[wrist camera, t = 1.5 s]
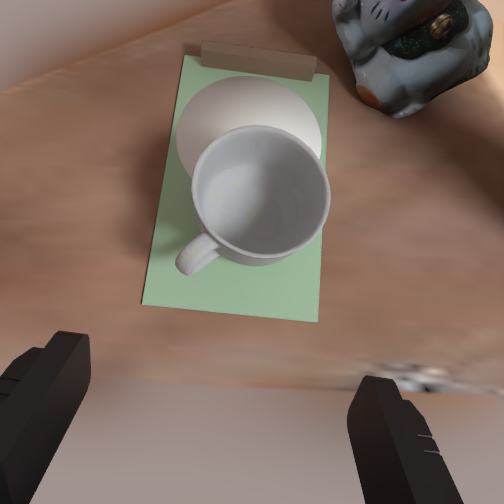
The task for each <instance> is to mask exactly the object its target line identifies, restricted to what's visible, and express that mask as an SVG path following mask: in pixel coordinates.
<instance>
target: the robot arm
mask: <svg viewBox="0 0 504 504" xmlns="http://www.w3.org/2000/svg"><path fill="white" fill-rule="evenodd" d="M90 378H91V362H90V343H89V336H88V335H87V334H81V333H74V332H67V331H58V332H56V333H55V334H54V336H53V337H52V338H51V340H50V341H49V342H48V344H47V345H46V346H45V348H37V347H32V348H31V349H29V350H28V351H26V352H25V353H23V354H22V355H21V356H19V357H18V358H16V359H15V360H13V361H12V363H11V364H10V365H9V366H8V368H7V369H6V370H5V371H4V373H3V374H2V375H1V376H0V504H29V503H30V501H31V499H32V497H33V495H34V493H35V492H36V490H37V488H38V486H39V484H40V482H41V480H42V478H43V476H44V474H45V472H46V470H47V468H48V466H49V464H50V462H51V460H52V459H53V457H54V455H55V453H56V451H57V449H58V447H59V445H60V443H61V441H62V439H63V437H64V435H65V433H66V431H67V429H68V428H69V426H70V424H71V422H72V420H73V418H74V416H75V414H76V412H77V410H78V408H79V406H80V404H81V402H82V400H83V398H84V396H85V394H86V392H87V389H88V386H89V383H90ZM347 428H348V433H349V438H350V442H351V446H352V450H353V454H354V458H355V462H356V466H357V471H358V475H359V478H360V483H361V487H362V491H363V495H364V500H365V504H464V503H463V501H462V499H461V497H460V494H459V492H458V490H457V488H456V486H455V484H454V481H453V480H452V477H451V475H450V473H449V471H448V468H447V466H446V464H445V462H444V460H443V458H442V456H441V455H440V454H439V449H438V447H437V445H436V443H435V441H434V440H433V439H432V434H431V432H430V430H429V427H428V425H427V423H426V421H425V419H424V417H423V416H422V415H421V413H420V412H419V411H418V410H417V409H416V407H415V406H414V405H413V404H412V403H411V402H410V401H409V400H403V399H402V397H401V395H400V392H399V390H398V388H397V385H396V383H395V382H394V381H393V380H392V379H388V378H381V377H374V376H365V377H364V378H363V379H362V381H361V383H360V386H359V388H358V390H357V392H356V394H355V397H354V399H353V401H352V403H351V405H350V407H349V410H348V415H347Z"/></svg>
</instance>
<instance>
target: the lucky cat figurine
mask: <svg viewBox="0 0 504 504" xmlns="http://www.w3.org/2000/svg"><path fill="white" fill-rule="evenodd" d="M332 17H333V20H334V23H335V26H336V31H337V34H338V36H339V38H340V40H341V42H342V44H343V47H344V49H345V51H346V55H347V57H348V59H349V61H350V63H351V66H352V68H353V71H354V74H355V78H356V81H357V83H356V90H357V92H358V94H359V96H360V98H361V100H362V101H363V102H364V103H366V104H367V105H369V106H371V107H373V108H375V109H377V110H379V111H381V112H383V113H385V114H389V115H391V116H392V118H393V119H394V118H401V117H405V116H408V115H411V114H414V113H416V112H417V111H418V110H419V109H422V108H423V107H424V106H425V105H426V104H427V103H428V102H429V101H431V100H432V99H434V98H435V97H436V96H438V95H439V94H441V93H443V92H445V91H447V90H449V89H451V88H453V87H456V86H458V85H460V84H462V83H464V82H466V81H468V80H470V79H472V78H475V77H476V76H477V75H479V74H481V73H482V72H483V71H484V70H485V69H486V68H487V66H488V62H489V61H490V57H489V51H490V47H491V41H492V34H493V22H492V18H491V16H490V14H489V12H488V10H487V9H486V8H485V7H484V6H483V5H482V4H481V3H480V2H479V1H478V0H334V1H333V3H332Z"/></svg>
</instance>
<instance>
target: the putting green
mask: <svg viewBox="0 0 504 504" xmlns="http://www.w3.org/2000/svg"><path fill="white" fill-rule="evenodd" d="M200 50H201V57H197V56H190V55H185V56H184V62H183V67H182V73H181V79H180V85H179V91H178V97H177V102H176V108H175V114H174V120H173V126H172V132H171V137H170V143H169V149H168V155H167V161H166V166H165V172H164V178H163V184H162V190H161V196H160V201H159V207H158V213H157V219H156V225H155V231H154V236H153V242H152V248H151V254H150V260H149V266H148V271H147V277H146V283H145V289H144V295H143V301H142V305H151V306H161V307H171V308H180V309H190V310H200V311H210V312H219V313H229V314H239V315H249V316H258V317H268V318H278V319H288V320H297V321H307V322H318V306H319V285H320V264H321V244H322V228H321V230H320V232H319V233H318V234H317V236H316V237H315V238H314V239H313V240H312V241H311V242H310V243H309V244H307V245H306V246H305V247H303V248H302V249H300V250H299V251H297V252H295V253H293V254H292V255H290V256H289V257H287V258H285V259H283V260H281V261H279V262H277V263H274V264H270V265H265V266H245V265H241V264H238V263H235V262H232V261H230V260H228V259H226V258H224V257H223V256H221V255H220V256H218V257H217V258H215V259H213V260H212V261H211V262H210V263H208V264H207V265H206V266H205V267H204V268H202V269H201V270H199V271H198V272H196V273H195V274H193V275H191V276H186V275H184V274H182V273H181V272H180V271H179V270H178V269H177V267H176V265H175V259H176V257H177V255H178V254H179V253H180V251H181V250H182V249H183V248H184V247H185V246H186V245H187V244H188V243H189V242H190V241H191V240H193V239H194V238H195V237H197V236H198V235H199V234H201V233H202V232H201V230H200V228H199V225H198V222H197V219H196V214H195V208H194V205H193V202H192V196H191V180H192V174H193V169H194V166H195V164H196V162H197V160H198V158H199V157H200V154H201V153H202V152H203V151H204V149H205V148H206V147H207V145H208V144H210V143H211V142H212V140H214V139H215V138H217V137H218V136H220V135H222V134H223V133H225V132H227V131H229V130H232V129H235V128H238V127H243V126H249V125H261V126H271V127H275V128H278V129H282V130H284V131H286V132H288V133H290V134H292V135H294V136H296V137H297V138H299V139H300V140H301V141H303V142H304V143H305V144H306V145H307V146H308V147H310V148H311V149H312V151H313V152H314V153H315V154H316V156H317V157H318V159H319V160H320V162H321V164H322V166H323V168H324V170H325V161H326V140H327V119H328V98H329V78H330V75H324V74H317V73H315V70H316V67H317V57H316V56H310V55H303V54H296V53H289V52H282V51H275V50H268V49H261V48H254V47H247V46H240V45H233V44H226V43H219V42H212V41H205V40H202V43H201V49H200Z"/></svg>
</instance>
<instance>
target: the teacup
mask: <svg viewBox="0 0 504 504" xmlns="http://www.w3.org/2000/svg"><path fill="white" fill-rule="evenodd" d="M191 196H192V202H193V205H194V208H195V214H196V219H197V222H198V225H199V228H200V230H201V232H202V233H201V234H199V235H198V236H197V237H195V238H194V239H193V240H191V241H190V242H189V243H188V244H187V245H186V246H185V247H184V248H183V249H182V250H181V251H180V253H179V254H178V255H177V257H176V259H175V265H176V267H177V269H178V270H179V271H180V272H181V273H182V274H184V275H186V276H191V275H193V274H195V273H196V272H198V271H199V270H201V269H202V268H204V267H205V266H206V265H207V264H208V263H210V262H211V261H212V260H213V259H215V258H217V257H218V256H220V255H221V256H223V257H224V258H226V259H228V260H230V261H232V262H235V263H238V264H241V265H245V266H265V265H270V264H274V263H277V262H279V261H281V260H283V259H285V258H287V257H289V256H290V255H292V254H293V253H295V252H297V251H299V250H300V249H302V248H303V247H305V246H306V245H307V244H309V243H310V242H311V241H312V240H313V239H314V238H315V237H316V236H317V234H318V233H319V232H320V230H321V228H322V227H323V225H324V223H325V221H326V219H327V215H328V212H329V208H330V185H329V181H328V178H327V175H326V172H325V170H324V168H323V166H322V164H321V162H320V160H319V159H318V157H317V156H316V154H315V153H314V152H313V151H312V149H311V148H310V147H308V146H307V145H306V144H305V143H304V142H303V141H301V140H300V139H299V138H297V137H296V136H294V135H292V134H290V133H288V132H286V131H284V130H282V129H278V128H275V127H271V126H261V125H249V126H243V127H238V128H235V129H232V130H229V131H227V132H225V133H223V134H222V135H220V136H218V137H217V138H215V139H214V140H212V142H211V143H210V144H208V145H207V147H206V148H205V149H204V151H203V152H202V153H201V154H200V157H199V158H198V160H197V162H196V164H195V166H194V169H193V174H192V180H191Z"/></svg>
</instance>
